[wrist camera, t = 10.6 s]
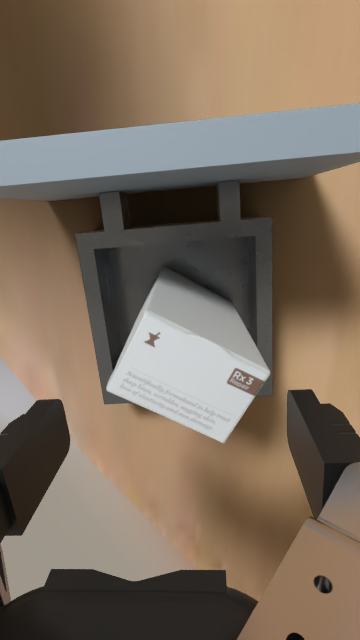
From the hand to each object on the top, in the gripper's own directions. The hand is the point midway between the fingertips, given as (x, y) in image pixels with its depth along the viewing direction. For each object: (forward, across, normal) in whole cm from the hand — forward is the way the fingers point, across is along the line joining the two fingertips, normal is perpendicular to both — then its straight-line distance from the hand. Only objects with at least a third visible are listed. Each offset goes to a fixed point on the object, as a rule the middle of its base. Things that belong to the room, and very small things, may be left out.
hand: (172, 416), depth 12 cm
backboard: (+15, +1, -9) cm, 18 cm away
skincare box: (+15, 0, 0) cm, 15 cm away
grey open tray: (+15, +1, -1) cm, 15 cm away
